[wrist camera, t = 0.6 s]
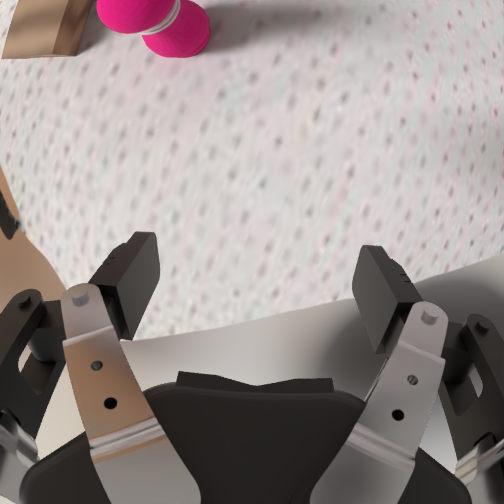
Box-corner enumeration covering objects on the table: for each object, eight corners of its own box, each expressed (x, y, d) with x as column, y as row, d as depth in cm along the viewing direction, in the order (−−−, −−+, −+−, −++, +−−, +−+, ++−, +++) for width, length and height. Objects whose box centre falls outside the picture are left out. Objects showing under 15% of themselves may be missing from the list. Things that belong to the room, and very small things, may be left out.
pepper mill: (146, 46, 28) (48, 16, 11) (179, 2, 25) (109, -66, 8) (191, 71, 30) (119, 46, 13) (226, 26, 27) (192, -44, 10)
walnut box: (45, -4, 21) (22, -10, 16) (99, -12, 23) (77, -22, 17) (26, 58, 26) (1, 59, 21) (76, 56, 28) (52, 54, 23)
